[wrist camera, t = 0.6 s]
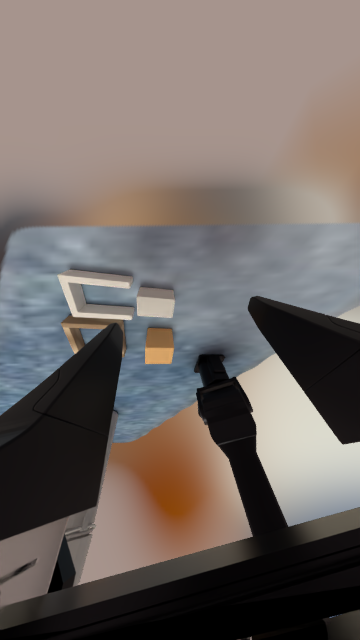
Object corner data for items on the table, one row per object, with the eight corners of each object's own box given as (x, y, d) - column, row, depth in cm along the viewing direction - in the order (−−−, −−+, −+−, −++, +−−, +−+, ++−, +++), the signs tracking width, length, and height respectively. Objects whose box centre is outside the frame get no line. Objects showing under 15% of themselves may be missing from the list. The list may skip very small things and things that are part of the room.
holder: (126, 349, 26) (124, 357, 24) (81, 348, 24) (76, 357, 23) (122, 318, 22) (119, 325, 20) (68, 315, 20) (60, 323, 19)
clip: (134, 311, 21) (131, 320, 19) (82, 308, 20) (73, 316, 18) (132, 276, 18) (129, 282, 16) (70, 269, 16) (57, 274, 14)
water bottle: (111, 419, 44) (70, 579, 24) (88, 415, 40) (16, 602, 20) (127, 409, 41) (97, 580, 21) (105, 403, 37) (40, 607, 17)
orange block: (169, 343, 27) (171, 363, 23) (147, 343, 26) (145, 363, 22) (171, 328, 24) (174, 348, 20) (147, 327, 24) (145, 347, 20)
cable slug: (170, 306, 22) (172, 317, 19) (140, 304, 21) (137, 315, 18) (173, 290, 20) (175, 299, 17) (140, 286, 19) (136, 296, 16)
